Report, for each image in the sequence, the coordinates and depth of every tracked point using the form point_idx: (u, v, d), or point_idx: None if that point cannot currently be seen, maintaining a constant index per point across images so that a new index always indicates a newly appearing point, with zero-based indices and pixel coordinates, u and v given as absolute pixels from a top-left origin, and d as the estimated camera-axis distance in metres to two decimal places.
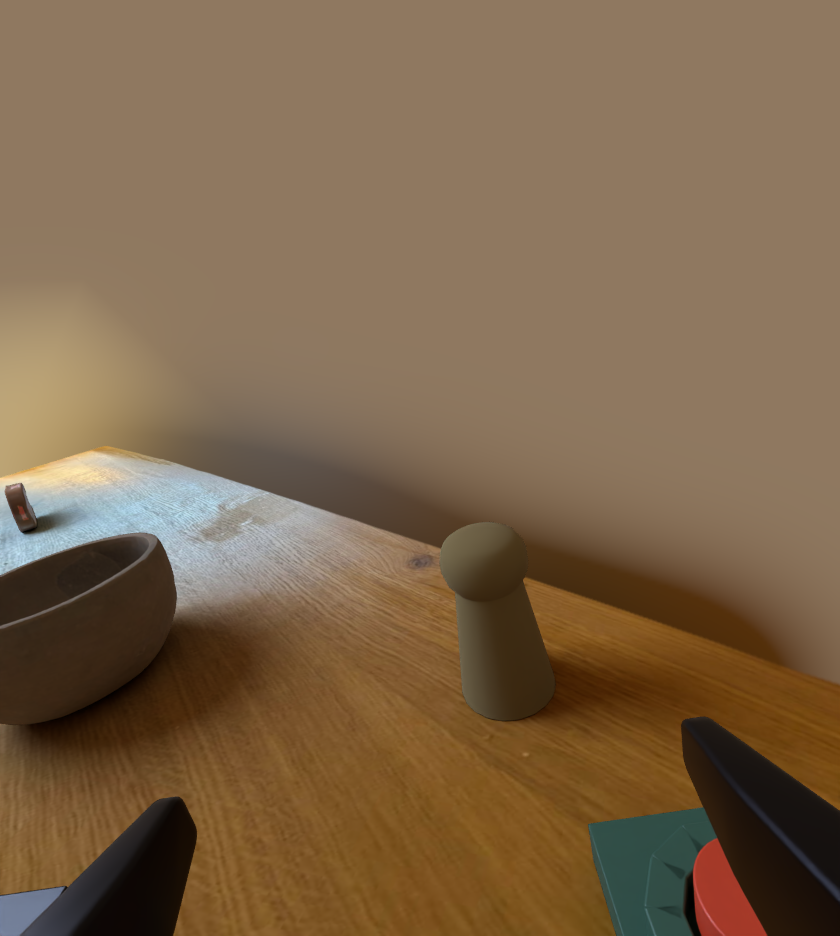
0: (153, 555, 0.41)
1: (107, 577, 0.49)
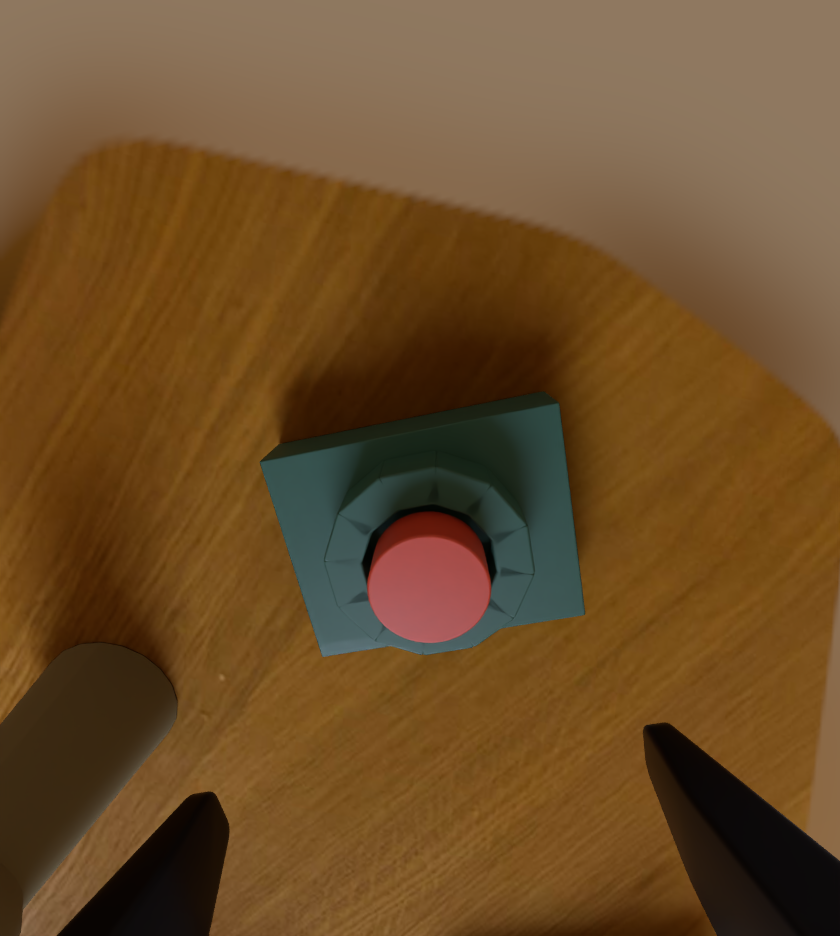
0: None
1: None
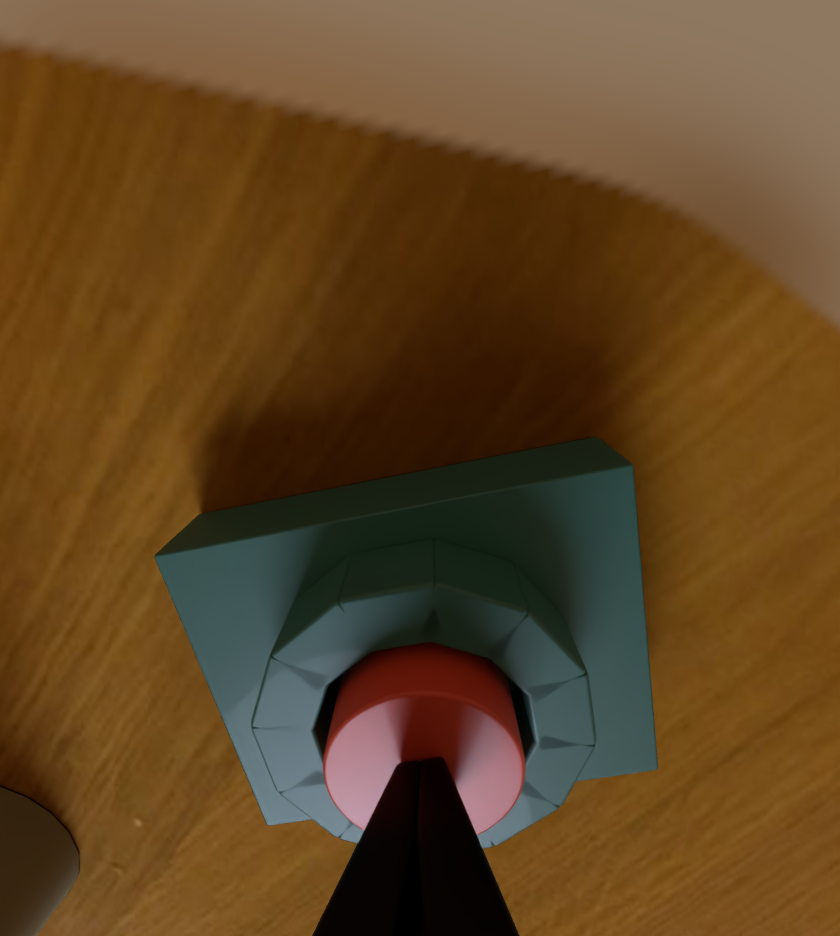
0: None
1: None
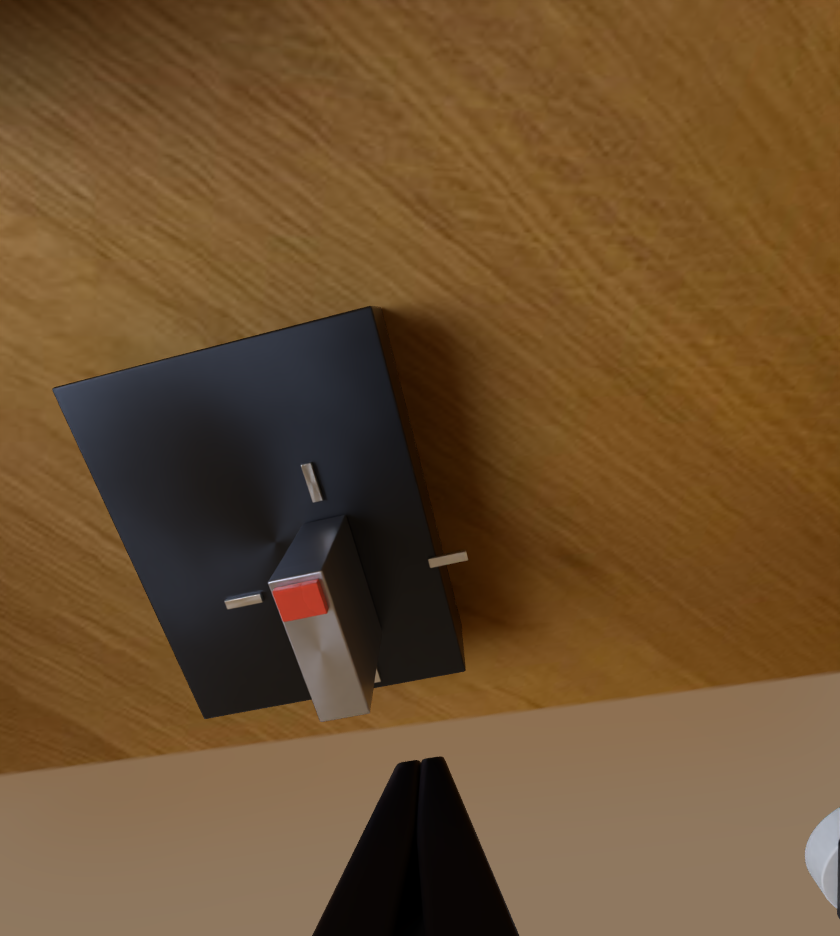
0: None
1: None
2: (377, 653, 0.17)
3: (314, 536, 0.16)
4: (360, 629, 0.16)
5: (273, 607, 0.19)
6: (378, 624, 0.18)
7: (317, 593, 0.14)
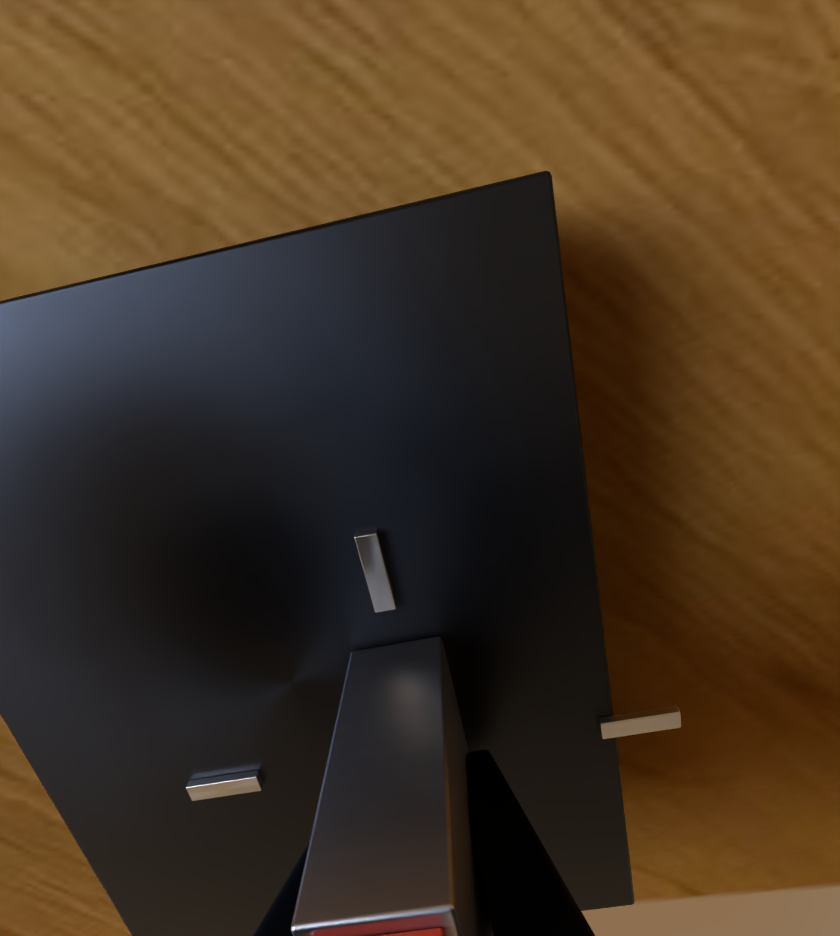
0: None
1: None
2: None
3: (387, 707, 0.07)
4: (489, 925, 0.07)
5: (281, 795, 0.10)
6: None
7: None
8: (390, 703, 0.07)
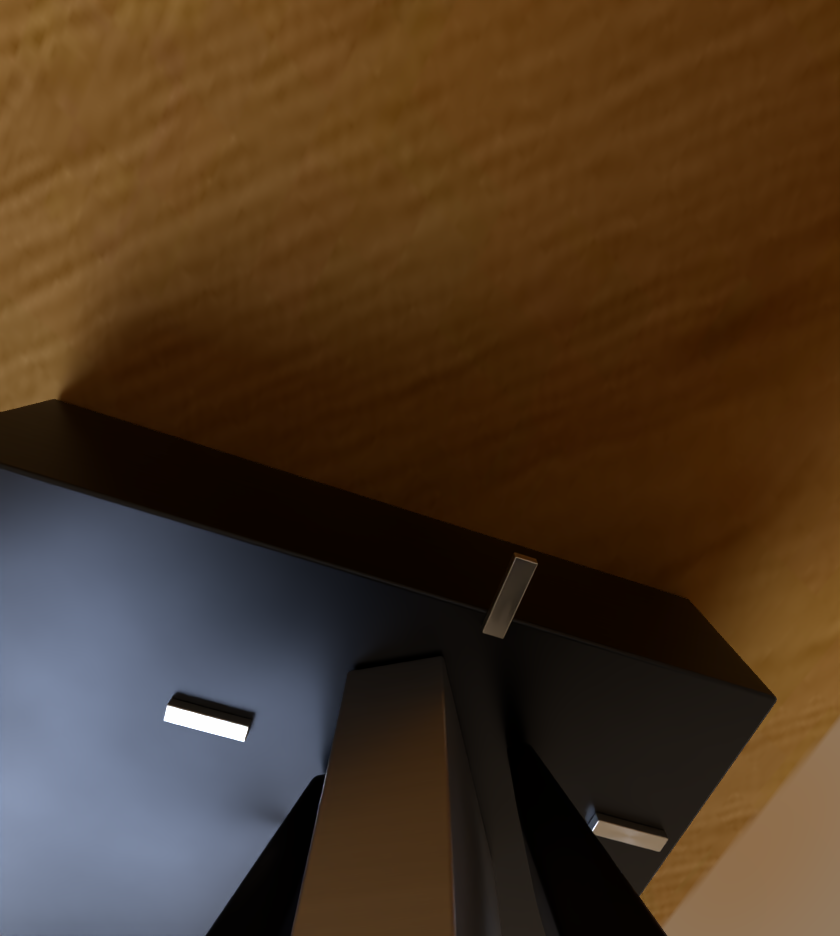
0: None
1: None
2: None
3: (386, 735, 0.07)
4: None
5: None
6: (491, 863, 0.09)
7: None
8: (389, 730, 0.07)
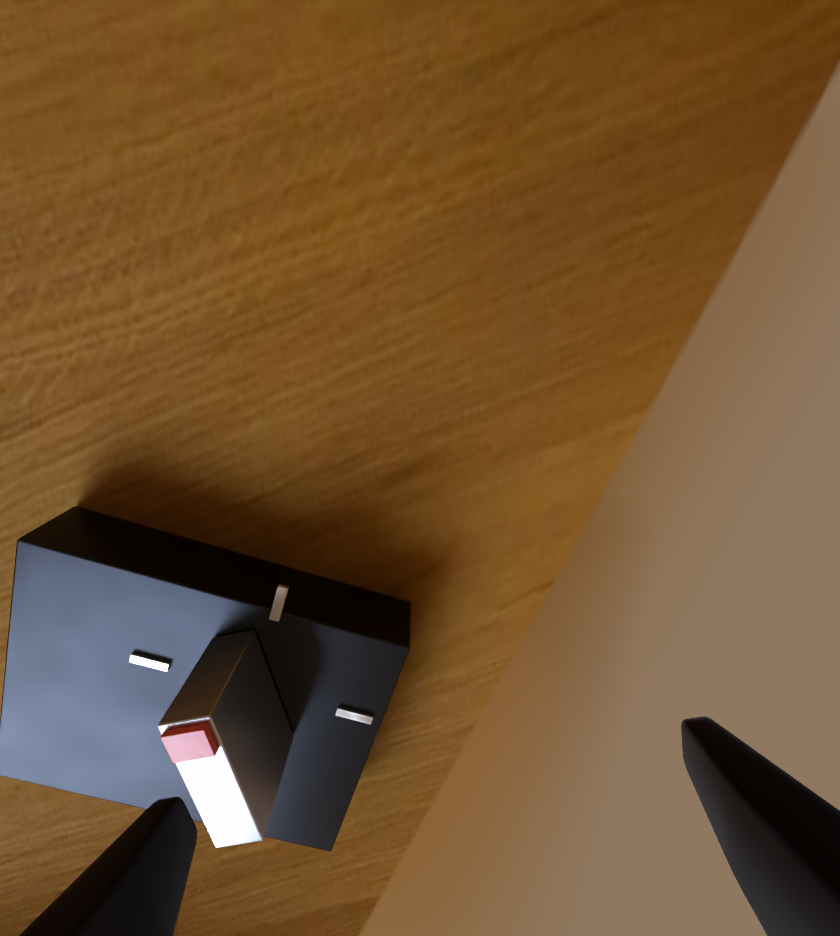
0: None
1: None
2: (283, 764, 0.18)
3: (217, 660, 0.16)
4: (260, 751, 0.16)
5: None
6: (288, 730, 0.19)
7: (204, 738, 0.14)
8: (218, 658, 0.17)
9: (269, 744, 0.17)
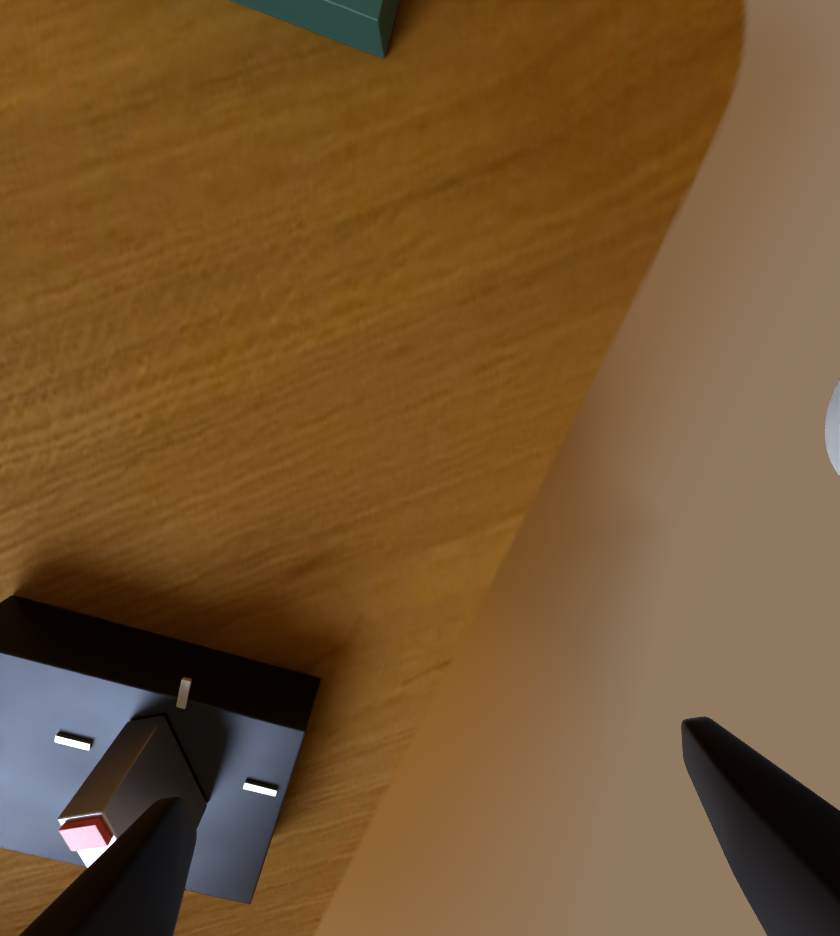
0: None
1: None
2: None
3: (124, 748, 0.18)
4: None
5: None
6: (201, 801, 0.21)
7: (97, 832, 0.16)
8: (126, 746, 0.18)
9: None
